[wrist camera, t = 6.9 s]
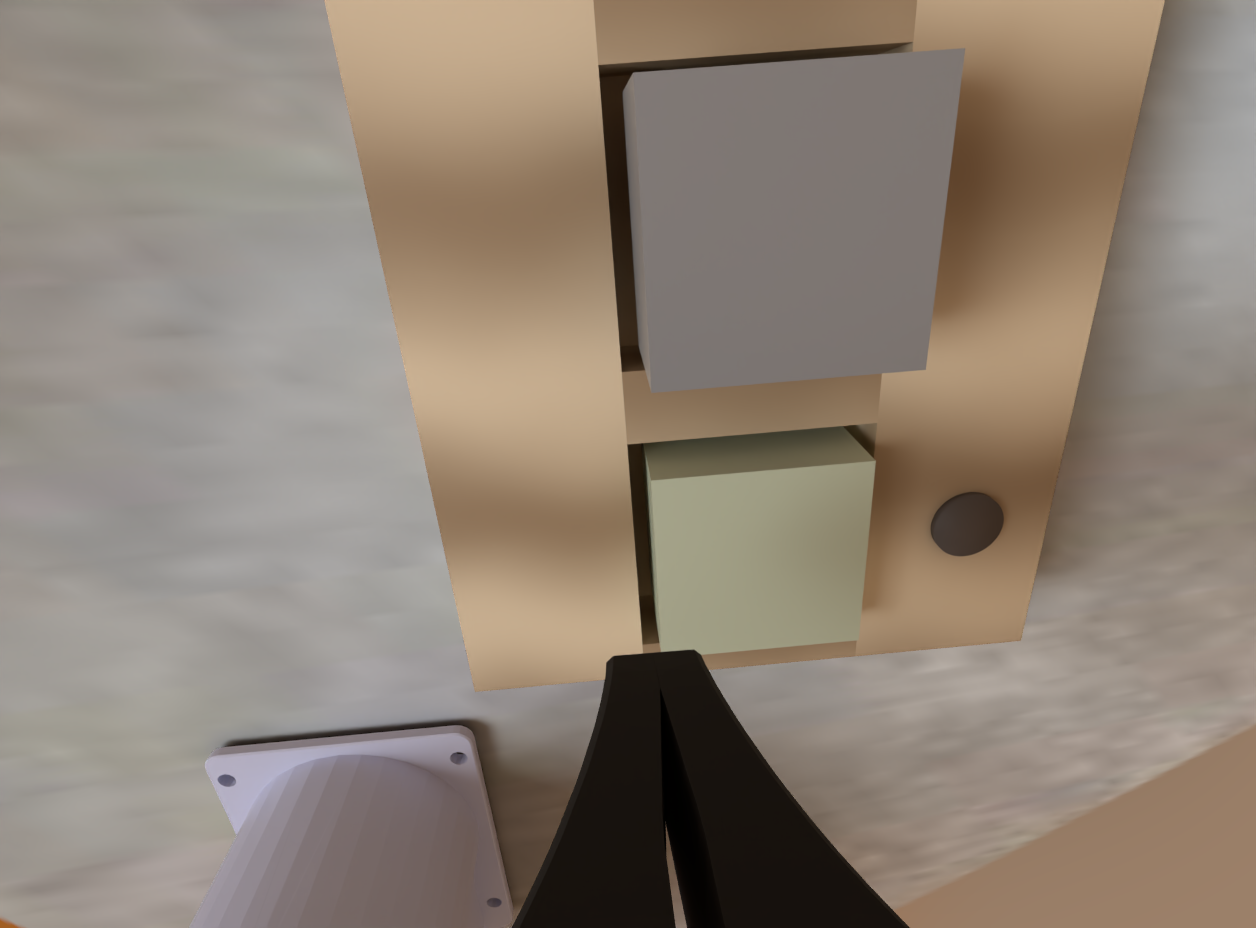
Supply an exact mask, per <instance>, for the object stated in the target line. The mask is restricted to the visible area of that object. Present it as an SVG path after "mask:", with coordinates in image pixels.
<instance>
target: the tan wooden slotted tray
mask: <svg viewBox="0 0 1256 928" xmlns="http://www.w3.org/2000/svg"><path fill="white" fill-rule="evenodd" d="M324 1H325V5H326V10H327V14H328V19H329V23H330V28H331V33H332V37H333V42H334V46H335V51H336V56H337V60H338V65H339V69H340V74H341V79H342V83H343V88H344V92H345V97H346V102H347V106H348V111H349V115H350V120H351V124H352V129H353V134H354V138H355V143H356V147H357V152H358V157H359V161H360V166H361V170H362V175H363V180H364V184H365V189H366V193H367V198H368V202H369V207H370V212H371V216H372V221H373V225H374V230H375V235H376V239H377V244H378V248H379V253H380V258H381V262H382V267H383V271H384V276H385V281H386V285H387V290H388V294H389V299H390V303H391V308H392V313H393V317H394V322H395V326H396V331H397V336H398V340H399V345H400V349H401V354H402V359H403V363H404V368H405V372H406V377H407V382H408V386H409V391H410V395H411V400H412V404H413V409H414V414H415V418H416V423H417V427H418V432H419V437H420V441H421V446H422V450H423V455H424V460H425V464H426V469H427V473H428V478H429V483H430V487H431V492H432V496H433V501H434V505H435V510H436V515H437V519H438V524H439V528H440V533H441V538H442V542H443V547H444V551H445V556H446V561H447V565H448V570H449V574H450V579H451V583H452V588H453V593H454V597H455V602H456V606H457V611H458V616H459V620H460V625H461V629H462V634H463V639H464V643H465V648H466V652H467V657H468V662H469V666H470V671H471V675H472V680H473V684H474V689H475V692H478V691H489V690H500V689H510V688H521V687H532V686H542V685H553V684H564V683H574V682H585V681H596V680H605V675H606V662H607V661H608V660H609V659H611V658H612V657H613V656H617V655H630V654H642V653H654V652H661V649H660V642H659V636H658V629H657V622H656V616H655V609H654V602H653V596H652V589H651V581H650V566H649V551H648V536H647V521H646V506H645V490H644V475H643V460H642V445H641V443H651V442H662V441H674V440H685V439H697V438H709V437H720V436H732V435H744V434H755V433H767V432H778V431H790V430H802V429H813V428H825V427H836V426H843V427H844V428H845V429H846V430H847V431H848V432H849V433H850V434H851V435H852V436H853V437H854V438H855V440H856V441H857V442H858V443H859V444H860V445H861V446H862V447H863V448H864V449H865V450H866V451H867V452H868V453H869V454H870V455H871V456H872V457H873V458H874V459H875V461H876V465H875V475H874V486H873V496H872V507H871V517H870V527H869V538H868V548H867V559H866V569H865V579H864V590H863V600H862V611H861V621H860V631H859V640H856V641H845V642H834V643H823V644H813V645H802V646H791V647H780V648H770V649H759V650H748V651H738V652H727V653H716V654H705V655H702V658H703V660H704V662H705V664H706V666H707V668H708V670H713V669H724V668H734V667H745V666H756V665H766V664H777V663H788V662H798V661H809V660H820V659H830V658H841V657H852V656H862V655H873V654H884V653H894V652H905V651H916V650H926V649H937V648H948V647H958V646H969V645H980V644H990V643H1001V642H1012V641H1021V638H1022V633H1023V629H1024V624H1025V620H1026V615H1027V611H1028V606H1029V602H1030V598H1031V593H1032V589H1033V584H1034V580H1035V575H1036V571H1037V566H1038V562H1039V558H1040V553H1041V549H1042V544H1043V540H1044V535H1045V531H1046V526H1047V522H1048V518H1049V513H1050V509H1051V504H1052V500H1053V495H1054V491H1055V486H1056V482H1057V478H1058V473H1059V469H1060V464H1061V460H1062V455H1063V451H1064V446H1065V442H1066V438H1067V433H1068V429H1069V424H1070V420H1071V415H1072V411H1073V407H1074V402H1075V398H1076V393H1077V389H1078V384H1079V380H1080V375H1081V371H1082V367H1083V362H1084V358H1085V353H1086V349H1087V344H1088V340H1089V335H1090V331H1091V327H1092V322H1093V318H1094V313H1095V309H1096V304H1097V300H1098V295H1099V291H1100V287H1101V282H1102V278H1103V273H1104V269H1105V264H1106V260H1107V255H1108V251H1109V247H1110V242H1111V238H1112V233H1113V229H1114V224H1115V220H1116V215H1117V211H1118V207H1119V202H1120V198H1121V193H1122V189H1123V184H1124V180H1125V175H1126V171H1127V167H1128V162H1129V158H1130V153H1131V149H1132V144H1133V140H1134V135H1135V131H1136V127H1137V122H1138V118H1139V113H1140V109H1141V104H1142V100H1143V95H1144V91H1145V87H1146V82H1147V78H1148V73H1149V69H1150V64H1151V60H1152V55H1153V51H1154V47H1155V42H1156V38H1157V33H1158V29H1159V24H1160V20H1161V16H1162V11H1163V7H1164V2H1165V0H324ZM960 48H965V55H964V63H963V71H962V80H961V88H960V96H959V104H958V112H957V120H956V128H955V136H954V145H953V153H952V161H951V169H950V177H949V185H948V193H947V201H946V210H945V218H944V226H943V234H942V242H941V250H940V258H939V267H938V275H937V283H936V291H935V299H934V307H933V315H932V323H931V332H930V340H929V348H928V356H927V364H926V370H917V371H906V372H894V373H882V374H870V375H858V376H846V377H835V378H823V379H811V380H799V381H787V382H775V383H764V384H752V385H740V386H728V387H716V388H704V389H693V390H681V391H669V392H657V393H651V389H650V386H649V382H648V379H647V375H646V371H645V368H644V364H643V360H642V357H641V353H640V349H639V344H638V328H637V312H636V297H635V281H634V266H633V250H632V234H631V219H630V203H629V187H628V172H627V156H626V140H625V125H624V109H623V93H622V92H623V90H624V88H625V87H626V85H627V83H628V81H629V79H630V77H631V76H632V74H633V73H635V72H649V71H662V70H676V69H689V68H703V67H716V66H730V65H743V64H757V63H770V62H784V61H797V60H811V59H825V58H838V57H852V56H865V55H879V54H892V53H906V52H919V51H933V50H946V49H960Z"/></svg>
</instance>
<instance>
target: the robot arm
mask: <svg viewBox="0 0 1256 928" xmlns="http://www.w3.org/2000/svg"><path fill="white" fill-rule="evenodd" d="M456 752H462V753H464V754H457V753H456ZM205 769H206V771H207V773H208V775H209V778H210V780H211V782H212V784H213V786H214V788H215V790H216V792H217V795H218V797H219V799H220V801H221V803H222V805H223V807H224V809H225V811H226V814H227V816H228V818H229V820H230V822H231V824H232V826H233V828H234V831H235V833H236V835H237V836H236V837H235V839H234V841H233V843H232V845H231V847H230V849H229V851H228V853H227V855H226V857H225V859H224V861H223V863H222V865H221V866H220V868H219V870H218V872H217V874H216V876H215V878H214V880H213V882H212V884H211V886H210V888H209V890H208V892H207V894H206V896H205V897H204V899H203V901H202V903H201V905H200V907H199V909H198V911H197V913H196V915H195V917H194V919H193V921H192V923H191V925H190V926H189V928H503V927H506V926H508V925H509V924H510V923H511V922H512V919H513V905H512V900H511V896H510V892H509V887H508V883H507V878H506V874H505V870H504V865H503V861H502V856H501V852H500V848H499V843H498V839H497V834H496V830H495V825H494V821H493V817H492V812H491V808H490V803H489V799H488V795H487V790H486V786H485V781H484V777H483V773H482V768H481V764H480V759H479V755H478V751H477V746H476V742H475V737H474V735H473V733H472V731H471V730H470V729H468V728H467V727H464V726H461V725H453V726H442V727H432V728H421V729H411V730H400V731H389V732H379V733H368V734H358V735H347V736H337V737H326V738H316V739H305V740H295V741H284V742H273V743H263V744H252V745H242V746H231V747H221V748H217V749H215V750H214V751H212V752H211V754H210V755H209V757H208V759H207V760H206V762H205ZM665 821H666V823H665ZM666 826H667V831H668V836H669V841H670V846H671V851H672V856H673V860H674V865H675V870H676V875H677V880H678V885H679V890H680V895H681V900H682V905H683V909H684V914H685V919H686V924H687V928H909V926H907V924H906V923H905V922H904V921H902V919H901V918H900V917H899V916H898V915H897V914H896V913H895V912H894V911H893V910H892V909H891V908H890V907H889V906H888V905H887V904H886V903H885V902H884V901H883V900H882V899H881V897H880V896H879V895H878V894H877V893H876V892H875V891H874V890H873V889H872V888H871V887H870V886H869V885H868V884H867V883H866V882H865V881H864V879H863V878H862V877H861V876H860V875H859V874H858V873H857V872H856V871H855V870H854V868H853V867H852V866H851V865H850V864H849V863H848V862H847V861H846V860H845V858H844V857H843V856H842V855H841V854H840V853H839V852H838V851H837V849H836V848H835V847H834V846H833V845H832V844H831V843H830V841H829V840H828V839H827V838H826V837H825V836H824V834H823V833H822V832H821V831H820V830H819V828H818V827H817V826H816V825H815V824H814V822H813V821H812V820H811V819H810V817H809V816H808V815H807V814H806V812H805V811H804V810H803V809H802V807H801V806H800V805H799V804H798V802H797V801H796V800H795V799H794V797H793V796H792V795H791V794H790V792H789V791H788V790H787V788H786V787H785V786H784V784H783V783H782V782H781V780H780V779H779V778H778V776H777V775H776V774H775V772H774V771H773V770H772V768H771V767H770V766H769V764H768V763H767V761H766V760H765V759H764V757H763V756H762V754H761V753H760V751H759V750H758V749H757V747H756V746H755V744H754V743H753V741H752V740H751V739H750V737H749V736H748V734H747V733H746V731H745V730H744V728H743V727H742V725H741V724H740V722H739V721H738V719H737V718H736V716H735V715H734V713H733V711H732V710H731V708H730V707H729V705H728V703H727V702H726V700H725V698H724V697H723V695H722V693H721V692H720V690H719V688H718V687H717V685H716V683H715V681H714V679H713V678H712V676H711V674H710V672H709V670H708V668H707V666H706V664H705V662H704V660H703V658H702V655H701V654H699V653H698V652H697V651H696V650H694V649H692V650H679V651H667V652H654V653H642V654H630V655H617V656H613V657H612V658H611V659H609V660H608V661H607V662H606V675H605V682H604V688H603V694H602V699H601V703H600V707H599V711H598V715H597V719H596V723H595V727H594V730H593V733H592V736H591V740H590V743H589V746H588V749H587V752H586V755H585V758H584V761H583V765H582V768H581V771H580V774H579V777H578V779H577V782H576V785H575V787H574V790H573V792H572V795H571V798H570V800H569V803H568V805H567V808H566V810H565V813H564V815H563V818H562V820H561V823H560V825H559V828H558V830H557V833H556V835H555V838H554V840H553V842H552V845H551V847H550V849H549V851H548V854H547V856H546V858H545V861H544V863H543V865H542V867H541V869H540V871H539V874H538V876H537V878H536V880H535V882H534V884H533V886H532V888H531V890H530V892H529V894H528V897H527V899H526V901H525V903H524V905H523V907H522V909H521V911H520V913H519V915H518V917H517V919H516V921H515V922H514V924H513V926H512V928H676V927H675V920H674V912H673V905H672V897H671V889H670V882H669V874H668V866H667V859H666Z"/></svg>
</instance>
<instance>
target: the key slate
mask: <svg viewBox="0 0 1256 928" xmlns="http://www.w3.org/2000/svg"><path fill="white" fill-rule="evenodd" d="M964 55H965V48H960V49H946V50H933V51H919V52H906V53H892V54H879V55H865V56H852V57H838V58H825V59H811V60H797V61H784V62H770V63H757V64H743V65H730V66H716V67H703V68H689V69H676V70H662V71H649V72H635V73H633V74H632V76H631V77H630V79H629V81H628V83H627V85H626V87H625V88H624V90H623V92H622V93H623V109H624V125H625V140H626V156H627V172H628V187H629V203H630V219H631V234H632V250H633V266H634V281H635V297H636V312H637V328H638V344H639V349H640V353H641V357H642V360H643V364H644V368H645V371H646V375H647V379H648V382H649V386H650V389H651V393H657V392H669V391H681V390H693V389H704V388H716V387H728V386H740V385H752V384H764V383H775V382H787V381H799V380H811V379H823V378H835V377H846V376H858V375H870V374H882V373H894V372H906V371H917V370H926V364H927V356H928V348H929V340H930V332H931V323H932V315H933V307H934V299H935V291H936V283H937V275H938V267H939V258H940V250H941V242H942V234H943V226H944V218H945V210H946V201H947V193H948V185H949V177H950V169H951V161H952V153H953V145H954V136H955V128H956V120H957V112H958V104H959V96H960V88H961V80H962V71H963V63H964Z"/></svg>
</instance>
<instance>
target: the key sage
mask: <svg viewBox="0 0 1256 928" xmlns="http://www.w3.org/2000/svg"><path fill="white" fill-rule="evenodd" d="M641 445H642V460H643V475H644V490H645V506H646V521H647V536H648V551H649V566H650V581H651V589H652V596H653V602H654V609H655V616H656V622H657V629H658V636H659V642H660V649H661V652H667V651H679V650H692V649H694V650H696V651H697V652H698V653H699V654H701V655H705V654H716V653H727V652H738V651H748V650H759V649H770V648H780V647H791V646H802V645H813V644H823V643H834V642H845V641H856V640H859V631H860V621H861V611H862V600H863V590H864V579H865V569H866V559H867V548H868V538H869V527H870V517H871V507H872V496H873V486H874V475H875V465H876V461H875V459H874V458H873V457H872V456H871V455H870V454H869V453H868V452H867V451H866V450H865V449H864V448H863V447H862V446H861V445H860V444H859V443H858V442H857V441H856V440H855V438H854V437H853V436H852V435H851V434H850V433H849V432H848V431H847V430H846V429H845V428H844V427H843V426H836V427H825V428H813V429H802V430H790V431H778V432H767V433H755V434H744V435H732V436H720V437H709V438H697V439H685V440H674V441H662V442H651V443H641Z"/></svg>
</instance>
